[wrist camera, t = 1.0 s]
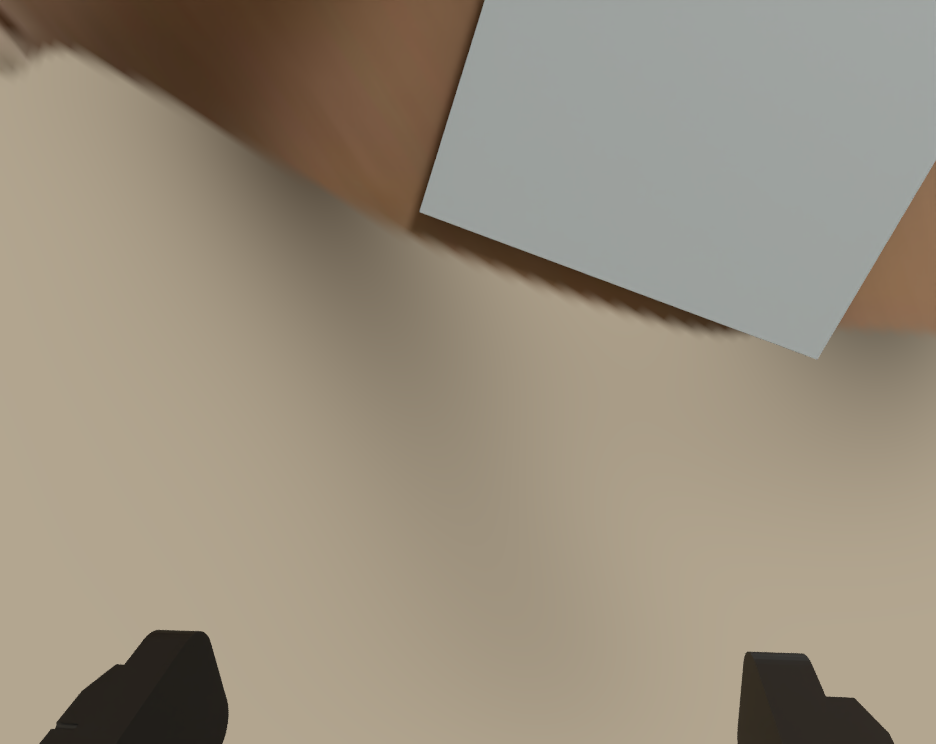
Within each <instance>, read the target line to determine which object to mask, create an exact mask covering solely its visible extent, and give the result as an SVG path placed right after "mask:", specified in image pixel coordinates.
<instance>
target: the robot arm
mask: <svg viewBox="0 0 936 744" xmlns="http://www.w3.org/2000/svg"><path fill="white" fill-rule="evenodd" d="M227 724H228V703H227V699H226V695H225V692H224V688H223V684H222V681H221V677H220V674H219V670H218V667H217V663H216V660H215V656H214V652H213V649H212V645H211V642H210V639H209V637H208V636H207V635H206V634H205V633H204V632H201V631H174V630H172V631H171V630H156V631H153V632H151V633H150V634H149V635H148V636H146V638H145V639H144V640H143V641H142V643H141V644H140V645H139V646H138V648H137V649H136V650H135V652H134V653H133V654H132V655H131V657H130V658H129V659H128V661H127V662H126V663H125V665H119V664H117V665H115V666H114V667H112V668H111V669H110V670H108V671H107V672H106V673H104V674H103V675H102V676H101V677H99V678H98V679H97V680H95V681H94V682H93V683H92V684H90V685H89V686H88V687H87V688H85V689H84V690H83V691H82V692H81V693H80V694H79V695H78V697H77V698H76V699H75V701H73V703H72V704H71V705H70V707H69V708H68V709H67V710H66V711H65V713H64V714H63V715H62V716H61V718H60V719H59V720H58V721H57V725H56V728H55V729H51V730H50V731H49V732H48V734H47V735H46V736H45V737H44V739H43V740H42V741H41V742H40V744H222V743H223V740H224V737H225V734H226V730H227ZM737 735H738V736H737V740H738V744H894V742H893V740H892V738H891V736H890V734H889V733H888V732H887V731H886V730H885V729H884V728H883V727H882V726H881V725H880V724H879V723H878V722H877V721H876V720H875V719H874V718H873V717H872V716H871V714H870V713H868V711H866V709H865V708H864V707H863V706H862V705H861V704H860V703H859V702H858V701H857V700H856V699H855V698H846V697H826V696H825V694H824V691H823V689H822V687H821V684H820V682H819V680H818V678H817V675H816V673H815V671H814V668H813V666H812V664H811V662H810V660H809V659H808V657H807V656H806V655H805V654H798V653H769V652H747V653H746V655H745V657H744V664H743V675H742V686H741V697H740V708H739V719H738V732H737Z"/></svg>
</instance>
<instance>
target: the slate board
mask: <svg viewBox="0 0 936 744" xmlns="http://www.w3.org/2000/svg"><path fill="white" fill-rule="evenodd" d="M935 160H936V0H485V1H484V5H483V8H482V11H481V14H480V17H479V21H478V24H477V27H476V30H475V34H474V37H473V40H472V43H471V47H470V50H469V53H468V56H467V59H466V63H465V66H464V69H463V72H462V76H461V79H460V82H459V85H458V89H457V92H456V95H455V98H454V102H453V105H452V108H451V111H450V114H449V118H448V121H447V124H446V127H445V131H444V134H443V137H442V140H441V144H440V147H439V150H438V153H437V157H436V160H435V163H434V166H433V169H432V173H431V176H430V179H429V182H428V186H427V189H426V192H425V195H424V199H423V202H422V205H421V208H420V212H421V213H423V214H426V215H429V216H431V217H434V218H437V219H439V220H442V221H445V222H448V223H450V224H453V225H456V226H458V227H461V228H464V229H466V230H469V231H472V232H474V233H477V234H480V235H483V236H485V237H488V238H491V239H493V240H496V241H499V242H501V243H504V244H507V245H510V246H512V247H515V248H518V249H520V250H523V251H526V252H528V253H531V254H534V255H536V256H539V257H542V258H545V259H547V260H550V261H553V262H555V263H558V264H561V265H563V266H566V267H569V268H571V269H574V270H577V271H580V272H582V273H585V274H588V275H590V276H593V277H596V278H598V279H601V280H604V281H607V282H609V283H612V284H615V285H617V286H620V287H623V288H625V289H628V290H631V291H633V292H636V293H639V294H642V295H644V296H647V297H650V298H652V299H655V300H658V301H660V302H663V303H666V304H668V305H671V306H674V307H677V308H679V309H682V310H685V311H687V312H690V313H693V314H695V315H698V316H701V317H704V318H706V319H709V320H712V321H714V322H717V323H720V324H722V325H725V326H728V327H730V328H733V329H736V330H739V331H741V332H744V333H747V334H749V335H752V336H755V337H757V338H760V339H763V340H766V341H768V342H771V343H774V344H776V345H779V346H782V347H784V348H787V349H790V350H793V351H795V352H798V353H801V354H803V355H806V356H809V357H811V358H814V359H818V358H819V356H820V354H821V352H822V351H823V349H824V347H825V346H826V344H827V342H828V341H829V339H830V337H831V336H832V334H833V332H834V331H835V329H836V327H837V326H838V324H839V322H840V320H841V319H842V317H843V315H844V314H845V312H846V310H847V309H848V307H849V305H850V304H851V302H852V300H853V299H854V297H855V295H856V294H857V292H858V290H859V288H860V287H861V285H862V283H863V282H864V280H865V278H866V277H867V275H868V273H869V272H870V270H871V268H872V267H873V265H874V263H875V262H876V260H877V258H878V256H879V255H880V253H881V251H882V250H883V248H884V246H885V245H886V243H887V241H888V240H889V238H890V236H891V235H892V233H893V231H894V230H895V228H896V226H897V224H898V223H899V221H900V219H901V218H902V216H903V214H904V213H905V211H906V209H907V208H908V206H909V204H910V203H911V201H912V199H913V198H914V196H915V194H916V192H917V191H918V189H919V187H920V186H921V184H922V182H923V181H924V179H925V177H926V176H927V174H928V172H929V171H930V169H931V167H932V166H933V164H934V162H935Z"/></svg>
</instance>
